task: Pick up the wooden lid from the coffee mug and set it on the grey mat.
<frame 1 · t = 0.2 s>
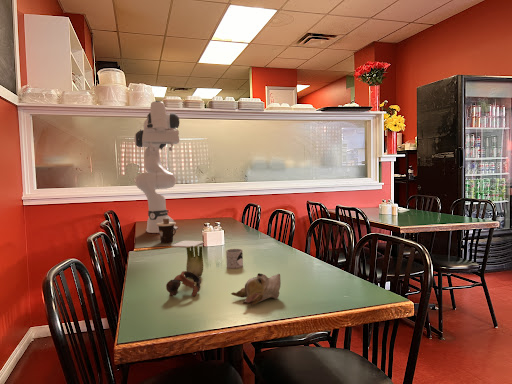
hand: (162, 150, 204), 51 cm above the table, fingers open, 8 cm apart
fennel bulb: (195, 277, 138), on the table
wooden lid: (166, 224, 205), point 10 cm above the table, touching coffee mug
grey mat: (188, 244, 198), on the table
brown black curved piece: (182, 295, 119), on the table
coffee mug: (167, 242, 205), on the table, touching wooden lid
ceramic sculpture: (259, 301, 112), on the table
mug: (235, 265, 153), on the table
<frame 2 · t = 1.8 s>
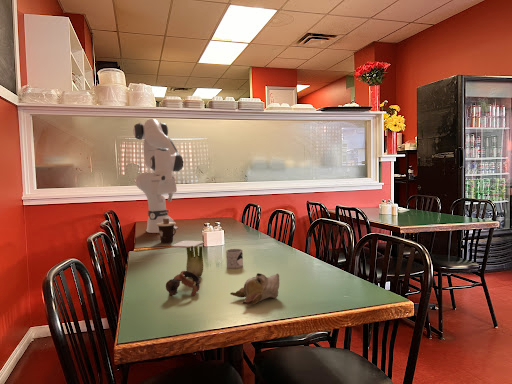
hand: (165, 201, 204), 23 cm above the table, fingers open, 8 cm apart
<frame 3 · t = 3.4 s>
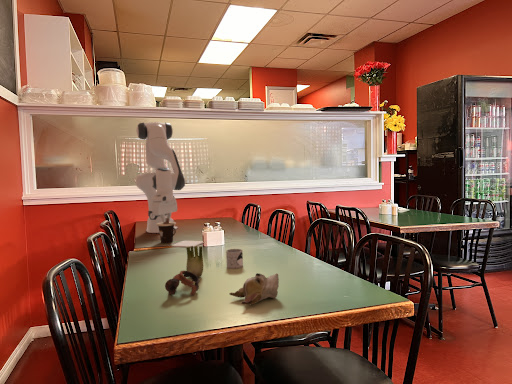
hand: (166, 221, 205), 12 cm above the table, fingers closed on wooden lid, 3 cm apart
wooden lid: (166, 224, 205), point 10 cm above the table, touching coffee mug, gripper
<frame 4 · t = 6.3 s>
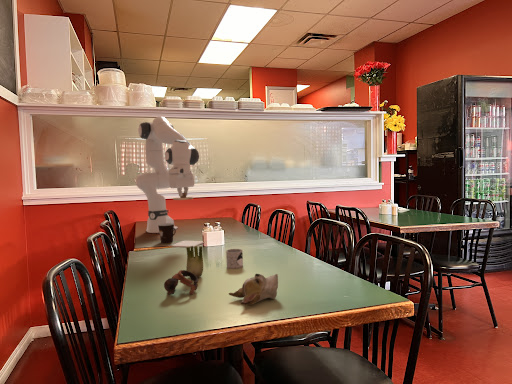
hand: (183, 196, 197), 26 cm above the table, fingers closed on wooden lid, 3 cm apart
wooden lid: (183, 199, 197), point 25 cm above the table, touching gripper
coffee mug: (167, 242, 205), on the table
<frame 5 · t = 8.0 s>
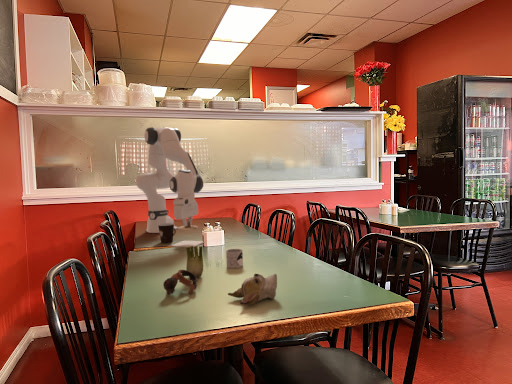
hand: (187, 225, 197), 10 cm above the table, fingers closed on wooden lid, 3 cm apart
wooden lid: (187, 228, 197), point 9 cm above the table, touching gripper
when the fingers open (4 cm above the table, at t = 9.3 s): wooden lid drops 2 cm, resting on grey mat.
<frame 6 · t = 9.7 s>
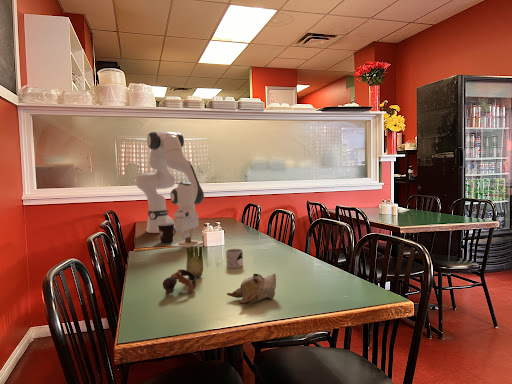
hand: (188, 237, 198), 4 cm above the table, fingers open, 7 cm apart
wooden lid: (188, 243, 198), point 1 cm above the table, touching grey mat
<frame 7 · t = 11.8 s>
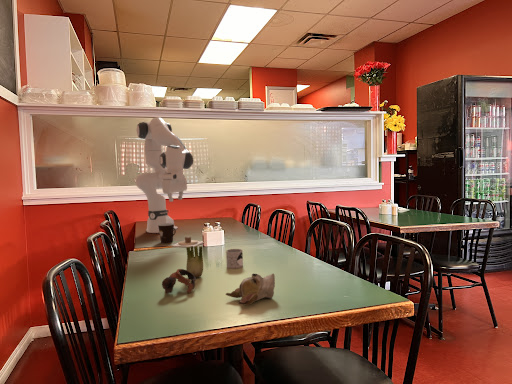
hand: (175, 200, 200), 24 cm above the table, fingers open, 8 cm apart
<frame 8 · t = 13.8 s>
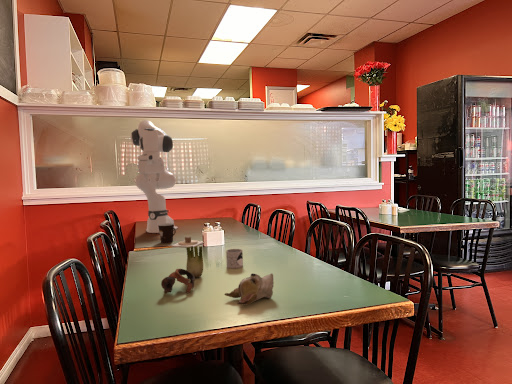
hand: (152, 181, 207), 34 cm above the table, fingers open, 8 cm apart
at the end: wooden lid inside the target area on the grey mat (0.1 cm from its centre), point 0.6 cm above the grey mat's base; wooden lid tilted 0°; wooden lid touching grey mat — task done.
